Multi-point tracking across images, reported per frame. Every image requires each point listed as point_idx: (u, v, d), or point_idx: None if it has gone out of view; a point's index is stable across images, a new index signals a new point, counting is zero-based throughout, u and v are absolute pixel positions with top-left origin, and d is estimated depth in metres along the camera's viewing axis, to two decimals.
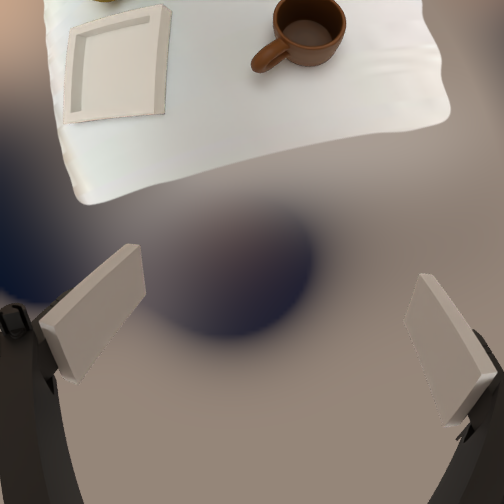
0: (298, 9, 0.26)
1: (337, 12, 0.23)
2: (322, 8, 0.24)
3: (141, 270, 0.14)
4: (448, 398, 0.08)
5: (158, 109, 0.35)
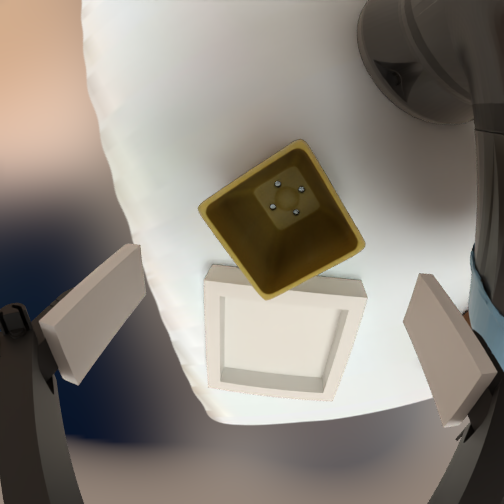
0: None
1: None
2: None
3: (141, 270, 0.14)
4: (448, 398, 0.08)
5: None
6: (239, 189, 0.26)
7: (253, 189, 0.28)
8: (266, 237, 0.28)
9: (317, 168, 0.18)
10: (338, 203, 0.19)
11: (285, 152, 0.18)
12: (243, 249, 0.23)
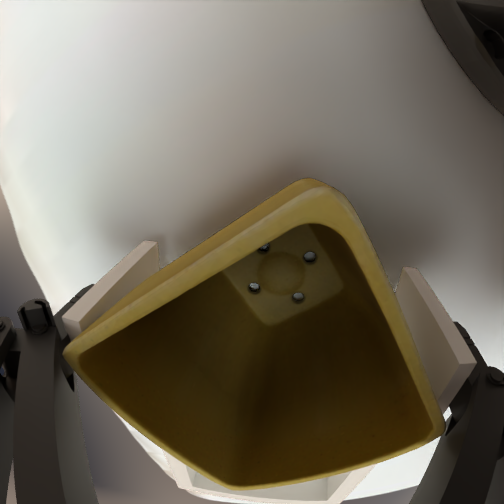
0: None
1: None
2: None
3: (158, 267, 0.14)
4: None
5: None
6: None
7: None
8: (241, 347, 0.14)
9: (378, 294, 0.05)
10: (416, 377, 0.06)
11: (264, 239, 0.05)
12: (183, 413, 0.10)
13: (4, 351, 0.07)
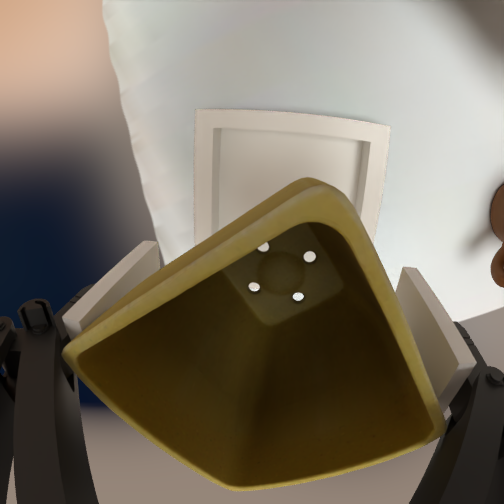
0: None
1: None
2: None
3: (158, 267, 0.14)
4: None
5: None
6: None
7: None
8: (241, 348, 0.14)
9: (378, 293, 0.05)
10: (417, 377, 0.06)
11: (263, 238, 0.05)
12: (182, 413, 0.10)
13: (4, 351, 0.07)
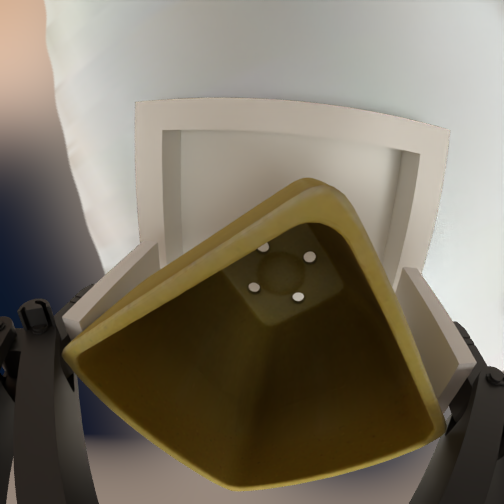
0: None
1: None
2: None
3: (158, 267, 0.14)
4: None
5: None
6: None
7: None
8: (241, 348, 0.14)
9: (378, 293, 0.05)
10: (417, 377, 0.06)
11: (263, 238, 0.05)
12: (182, 413, 0.10)
13: (4, 351, 0.07)
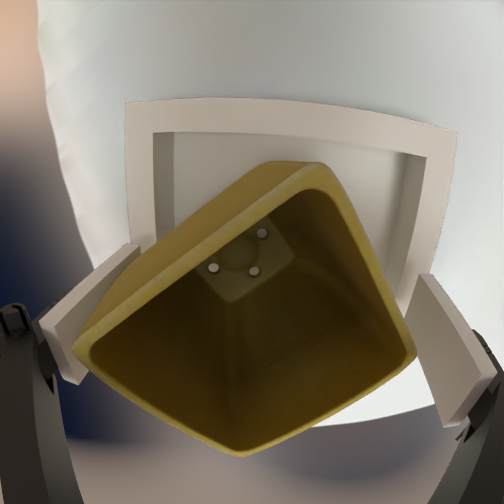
0: None
1: None
2: None
3: None
4: (448, 398, 0.08)
5: None
6: None
7: None
8: (211, 325, 0.16)
9: (357, 237, 0.07)
10: (389, 304, 0.08)
11: (276, 203, 0.06)
12: (183, 389, 0.11)
13: None
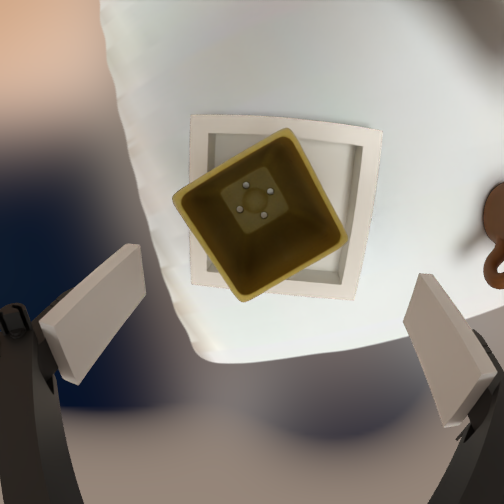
0: None
1: None
2: None
3: (141, 270, 0.14)
4: (448, 398, 0.08)
5: None
6: (208, 187, 0.24)
7: (220, 190, 0.26)
8: (234, 239, 0.26)
9: (302, 158, 0.18)
10: (322, 194, 0.19)
11: (271, 140, 0.18)
12: (216, 247, 0.21)
13: None
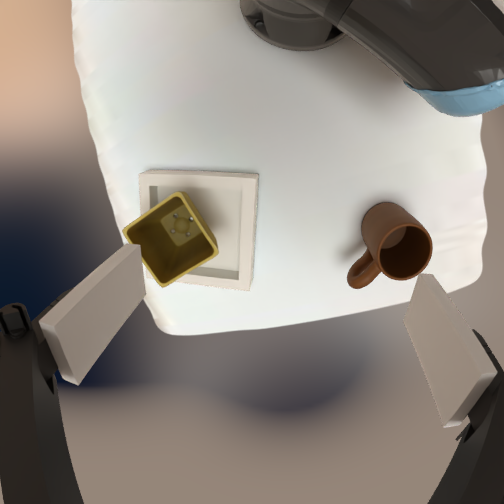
0: None
1: (426, 238, 0.32)
2: None
3: (141, 270, 0.14)
4: (448, 398, 0.08)
5: (251, 282, 0.44)
6: (150, 219, 0.40)
7: (160, 219, 0.42)
8: (167, 250, 0.41)
9: (187, 207, 0.33)
10: (200, 227, 0.34)
11: (169, 198, 0.33)
12: (149, 256, 0.36)
13: None
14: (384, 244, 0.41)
